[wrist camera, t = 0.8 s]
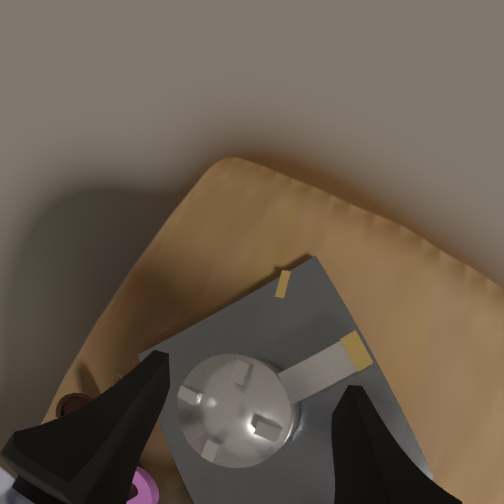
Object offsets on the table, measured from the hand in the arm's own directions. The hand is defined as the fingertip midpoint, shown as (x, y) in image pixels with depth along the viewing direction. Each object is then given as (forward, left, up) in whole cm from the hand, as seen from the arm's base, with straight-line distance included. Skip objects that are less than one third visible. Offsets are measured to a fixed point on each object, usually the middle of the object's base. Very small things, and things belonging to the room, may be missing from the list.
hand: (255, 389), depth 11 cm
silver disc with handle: (0, +3, -12) cm, 12 cm away
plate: (-2, +5, -13) cm, 14 cm away
